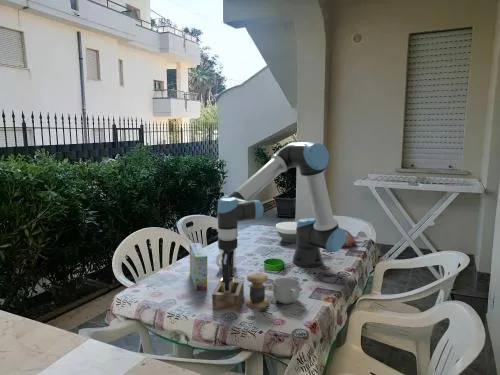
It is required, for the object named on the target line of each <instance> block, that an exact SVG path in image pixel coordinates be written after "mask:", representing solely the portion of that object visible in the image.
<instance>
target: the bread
mask: <svg viewBox="0 0 500 375" xmlns="http://www.w3.org/2000/svg"><path fill="white" fill-rule="evenodd" d="M342 229H343V230H344V231H345V233H346V238H345V242H344V244H343V246H342V247H341V248H343V247H345V248H347V247H349V248H351V247H354V246H355V244H356V243H357V242H356V240H355V238H354V236H353V235H352V234H351V233H350V232H349V231H348V230H347V229H345V228H342Z"/></svg>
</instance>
